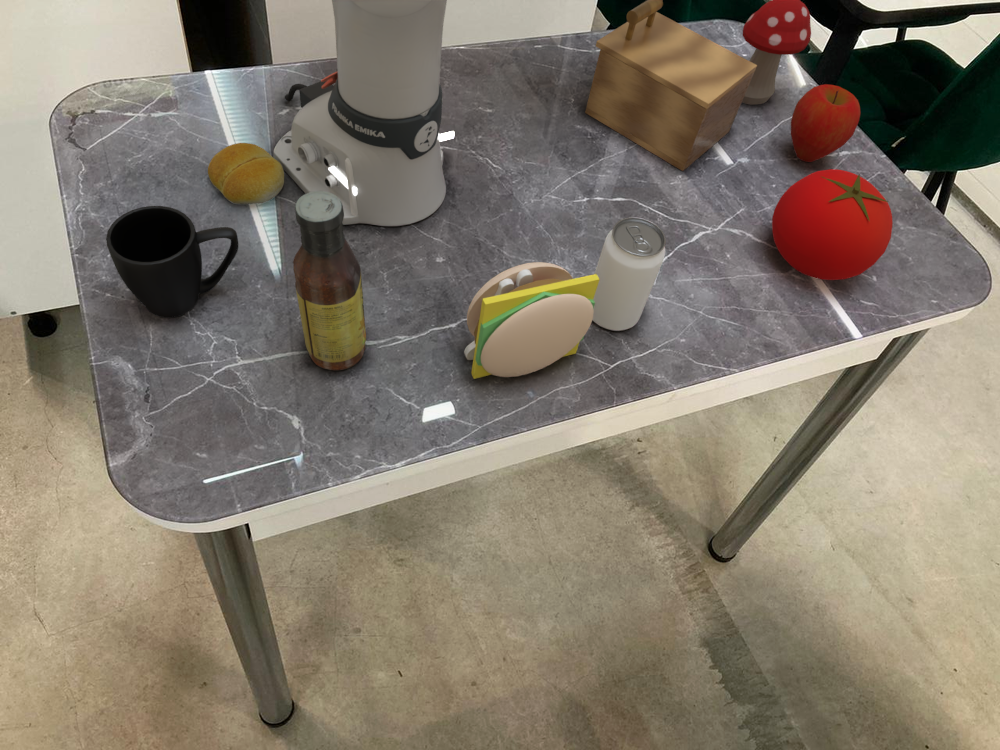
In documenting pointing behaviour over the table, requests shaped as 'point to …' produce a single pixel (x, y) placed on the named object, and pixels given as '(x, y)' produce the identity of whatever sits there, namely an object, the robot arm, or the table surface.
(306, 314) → the sauce bottle
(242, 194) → the bread roll
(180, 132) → the table surface
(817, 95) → the apple
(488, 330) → the hamburger
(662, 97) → the box
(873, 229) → the tomato
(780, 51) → the decorative mushroom
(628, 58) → the lid
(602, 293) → the can
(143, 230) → the mug
